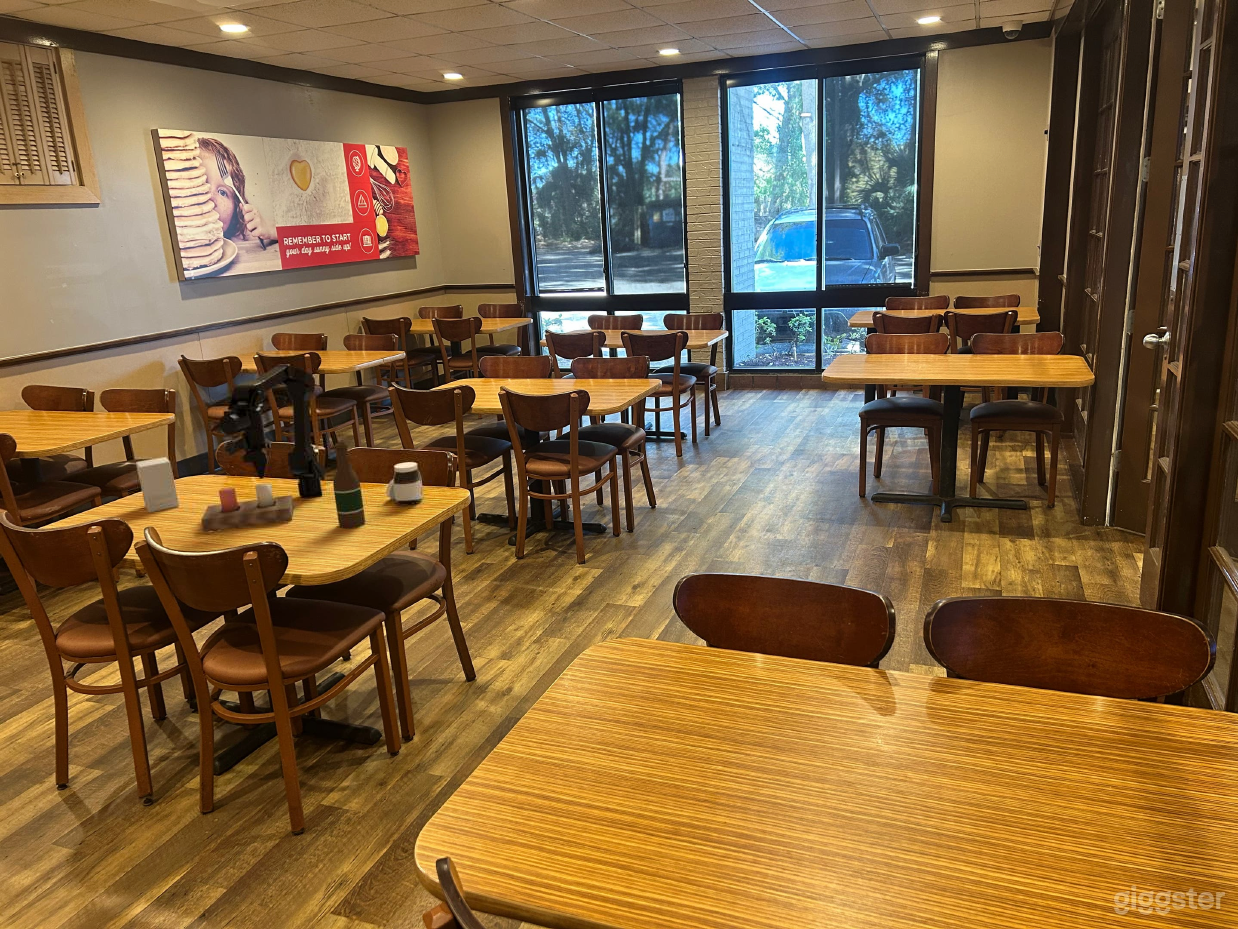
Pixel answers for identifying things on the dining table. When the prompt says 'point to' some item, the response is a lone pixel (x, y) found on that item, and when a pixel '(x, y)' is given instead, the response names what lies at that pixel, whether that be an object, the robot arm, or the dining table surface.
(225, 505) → the red plunger
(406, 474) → the spread jar
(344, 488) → the beer bottle
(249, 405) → the robot arm
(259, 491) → the grey plunger
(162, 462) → the supplement box
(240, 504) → the press panel
